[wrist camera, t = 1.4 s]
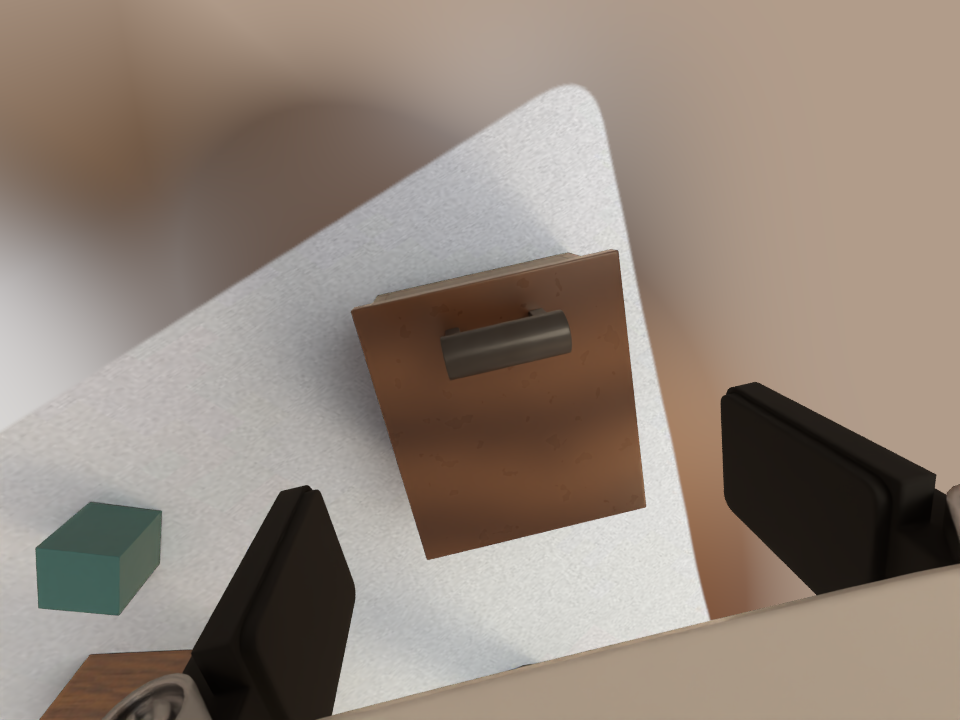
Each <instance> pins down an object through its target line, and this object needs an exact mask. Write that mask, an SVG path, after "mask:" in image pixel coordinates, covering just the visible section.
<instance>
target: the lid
mask: <svg viewBox="0 0 960 720" xmlns="http://www.w3.org/2000/svg"><path fill="white" fill-rule="evenodd" d="M351 314H352V317H353V321H354V324H355V327H356V330H357V334H358V337H359V340H360V343H361V347H362V350H363V353H364V356H365V360H366V363H367V366H368V369H369V373H370V376H371V379H372V382H373V386H374V389H375V392H376V395H377V399H378V402H379V405H380V409H381V412H382V415H383V418H384V422H385V425H386V428H387V431H388V435H389V438H390V441H391V444H392V448H393V451H394V454H395V457H396V461H397V464H398V467H399V470H400V474H401V477H402V480H403V483H404V487H405V490H406V493H407V496H408V500H409V503H410V506H411V509H412V513H413V516H414V519H415V522H416V526H417V529H418V532H419V536H420V539H421V542H422V545H423V549H424V552H425V555H426V558H427V560H430V559H435V558H439V557H443V556H447V555H451V554H455V553H459V552H463V551H468V550H472V549H476V548H480V547H484V546H488V545H492V544H496V543H501V542H505V541H509V540H513V539H517V538H521V537H525V536H529V535H534V534H538V533H542V532H546V531H550V530H554V529H558V528H562V527H567V526H571V525H575V524H579V523H583V522H587V521H591V520H595V519H600V518H604V517H608V516H612V515H616V514H620V513H624V512H628V511H633V510H637V509H641V508H645V507H646V500H645V491H644V481H643V472H642V463H641V454H640V445H639V436H638V427H637V417H636V408H635V399H634V390H633V381H632V372H631V362H630V353H629V344H628V335H627V326H626V317H625V308H624V298H623V289H622V280H621V271H620V262H619V253H618V250H613V249H610V250H605V251H601V252H597V253H592V254H588V255H583V256H579V257H575V258H570V259H566V260H561V261H557V262H552V263H548V264H544V265H539V266H535V267H530V268H526V269H521V270H517V271H513V272H508V273H504V274H499V275H495V276H490V277H486V278H482V279H477V280H473V281H468V282H464V283H460V284H455V285H451V286H446V287H442V288H437V289H433V290H429V291H424V292H420V293H415V294H411V295H406V296H402V297H398V298H393V299H389V300H384V301H380V302H376V303H371V304H367V305H362V306H358V307H354V308H353V309H352V310H351Z"/></svg>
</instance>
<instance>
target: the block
mask: <svg viewBox="0 0 960 720" xmlns="http://www.w3.org/2000/svg"><path fill="white" fill-rule="evenodd" d="M161 513H162V511H157V510H149V509H141V508H133V507H125V506H117V505H109V504H101V503H93V502H89V503H88V504H87V505H86V506H85V507H84V508H82V509H81V510H80V511H79V512H78V513H76V514H75V515H74V516H73V517H72V518H70V519H69V520H68V521H67V522H66V523H65V524H63V525H62V526H61V527H60V528H59V529H57V530H56V531H55V532H54V533H53V534H51V535H50V536H49V537H48V538H47V539H45V540H44V541H43V542H42V543H41V544H40V545H38V546H37V547H36V548H35V550H36V569H37V589H38V608H41V609H52V610H63V611H74V612H85V613H96V614H107V615H120V614H121V612H122V611H123V610H124V608H125V607H126V606H127V605H128V603H129V602H130V601H131V599H132V598H133V597H134V596H135V594H136V593H137V592H138V591H139V589H140V588H141V587H142V585H143V584H144V583H145V582H146V580H147V579H148V578H149V576H150V575H151V574H152V573H153V571H154V570H155V569H156V567H157V566H158V565H159V563H160V538H161Z"/></svg>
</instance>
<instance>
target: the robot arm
mask: <svg viewBox="0 0 960 720" xmlns="http://www.w3.org/2000/svg"><path fill="white" fill-rule="evenodd" d="M721 426H722V452H723V478H724V496H725V500H726V502H727V505H728V506H729V508H730V509H731V510H732V512H733V513H734V514H735V515H736V516H737V517H738V518H739V519H741V521H743V522H744V523H745V524H746V525H747V526H748V527H749V528H750V529H751V530H752V531H753V532H754V533H755V534H756V535H757V536H758V537H759V538H760V539H761V540H762V541H763V542H764V543H765V544H766V545H767V546H768V547H769V548H770V549H771V550H772V551H773V552H774V553H775V554H776V555H777V556H778V557H779V558H780V559H781V560H782V561H783V562H784V563H785V564H786V565H787V566H788V567H789V568H790V569H791V570H792V571H793V572H794V573H795V574H796V575H797V576H798V577H799V578H800V579H801V580H802V581H803V582H804V583H805V584H806V585H807V586H808V587H809V588H810V589H811V590H812V591H813V592H814V593H815V594H816V596H812V597H808V598H804V599H800V600H796V601H791V602H787V603H783V604H779V605H774V606H770V607H766V608H762V609H758V610H753V611H749V612H745V613H741V614H737V615H733V616H729V617H724V618H720V619H716V620H712V621H707V622H703V623H699V624H695V625H691V626H687V627H683V628H679V629H675V630H671V631H666V632H662V633H658V634H654V635H650V636H646V637H642V638H638V639H634V640H630V641H626V642H621V643H617V644H613V645H609V646H605V647H601V648H597V649H593V650H589V651H585V652H581V653H577V654H573V655H569V656H565V657H561V658H557V659H553V660H549V661H544V662H540V663H536V664H532V665H528V666H524V667H520V668H516V669H513V670H509V671H505V672H501V673H497V674H493V675H489V676H485V677H481V678H477V679H473V680H469V681H465V682H461V683H457V684H453V685H449V686H445V687H441V688H437V689H433V690H429V691H425V692H421V693H417V694H413V695H409V696H405V697H402V698H398V699H394V700H390V701H386V702H382V703H378V704H374V705H370V706H367V707H363V708H359V709H355V710H351V711H347V712H343V713H340V714H336V715H332V712H333V707H334V702H335V697H336V692H337V687H338V682H339V677H340V672H341V667H342V662H343V657H344V653H345V648H346V643H347V638H348V633H349V628H350V623H351V618H352V613H353V608H354V603H355V585H354V582H353V579H352V576H351V573H350V571H349V568H348V565H347V562H346V560H345V557H344V554H343V551H342V549H341V546H340V543H339V541H338V538H337V535H336V532H335V530H334V527H333V524H332V522H331V519H330V516H329V513H328V511H327V508H326V505H325V503H324V500H323V497H322V495H321V492H320V491H319V490H312V489H311V488H310V486H308V485H305V486H301V487H297V488H292V489H288V490H284V491H281V492H280V493H279V495H278V496H277V498H276V500H275V502H274V504H273V505H272V507H271V509H270V511H269V513H268V514H267V516H266V518H265V520H264V522H263V523H262V525H261V527H260V529H259V531H258V532H257V534H256V536H255V538H254V540H253V541H252V543H251V545H250V547H249V549H248V550H247V552H246V554H245V556H244V558H243V559H242V561H241V563H240V565H239V567H238V569H237V570H236V572H235V574H234V576H233V578H232V579H231V581H230V583H229V585H228V587H227V588H226V590H225V592H224V594H223V596H222V597H221V599H220V601H219V603H218V605H217V606H216V608H215V610H214V612H213V614H212V615H211V617H210V619H209V621H208V623H207V624H206V626H205V628H204V630H203V632H202V633H201V635H200V637H199V639H198V641H197V642H196V644H195V646H194V648H193V650H192V652H191V655H192V656H191V658H190V660H189V661H188V663H187V665H186V667H185V669H184V670H183V672H182V674H181V673H174V674H168V675H164V676H161V677H159V678H156V679H154V680H151V681H149V682H147V683H146V684H144V685H142V686H141V687H139V688H137V689H136V690H134V691H133V692H131V693H130V694H129V695H127V696H126V697H125V698H124V699H122V700H121V701H120V702H119V703H117V704H116V705H115V706H114V707H113V708H112V709H111V710H110V711H109V712H108V713H107V714H106V715H105V716H104V717H103V718H102V719H101V720H960V484H959V485H957V486H953V487H952V488H951V489H950V490H949V491H948V492H947V495H946V494H944V493H942V492H940V491H939V490H937V489H935V481H936V474H934V473H932V472H930V471H928V470H926V469H925V468H923V467H921V466H918V465H917V464H915V463H913V462H911V461H909V460H907V459H905V458H903V457H901V456H899V455H897V454H895V453H894V452H892V451H890V450H888V449H886V448H884V447H882V446H880V445H878V444H876V443H874V442H872V441H870V440H868V439H866V438H865V437H863V436H861V435H859V434H857V433H855V432H853V431H851V430H849V429H847V428H845V427H843V426H841V425H839V424H837V423H835V422H833V421H832V420H830V419H828V418H826V417H824V416H822V415H820V414H818V413H816V412H814V411H812V410H810V409H808V408H806V407H805V406H803V405H801V404H799V403H797V402H795V401H793V400H791V399H789V398H787V397H785V396H783V395H781V394H779V393H777V392H775V391H773V390H772V389H770V388H768V387H766V386H764V385H762V384H760V383H757V382H753V383H748V384H744V385H740V386H735V387H731V388H729V389H728V391H727V393H726V395H724V396H723V397H722V398H721Z"/></svg>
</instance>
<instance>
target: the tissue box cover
mask: <svg viewBox="0 0 960 720" xmlns="http://www.w3.org/2000/svg"><path fill="white" fill-rule="evenodd" d="M191 652H192V650H180V651H159V652H137V653H116V654H95V655H89V657H88V658H87V659H86V660H85V662H84V663H83V664H82V666H81V667H80V668H79V669H78V671H77V672H76V673H75V675H74V676H73V677H72V678H71V680H70V681H69V682H68V684H67V685H66V686H65V687H64V689H63V690H62V691H61V693H60V694H59V695H58V696H57V698H56V699H55V700H54V702H53V703H52V704H51V705H50V707H49V708H48V709H47V711H46V712H45V713H44V714H43V716H42V717H41V718H40V720H101V719H102V718H103V717H104V716H105V715H106V714H107V713H108V712H109V711H110V710H111V709H112V708H113V707H114V706H115V705H116V704H117V703H119V702H120V701H121V700H122V699H124V698H125V697H126V696H127V695H129V694H130V693H131V692H133V691H134V690H136V689H137V688H139V687H141V686H142V685H144V684H146V683H147V682H149V681H151V680H154V679H156V678H159V677H161V676H164V675H168V674H174V673H181V674H182V672H183V670H184V669H185V667H186V665H187V663H188V661H189V660H190V658H191V656H192V655H191Z"/></svg>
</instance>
